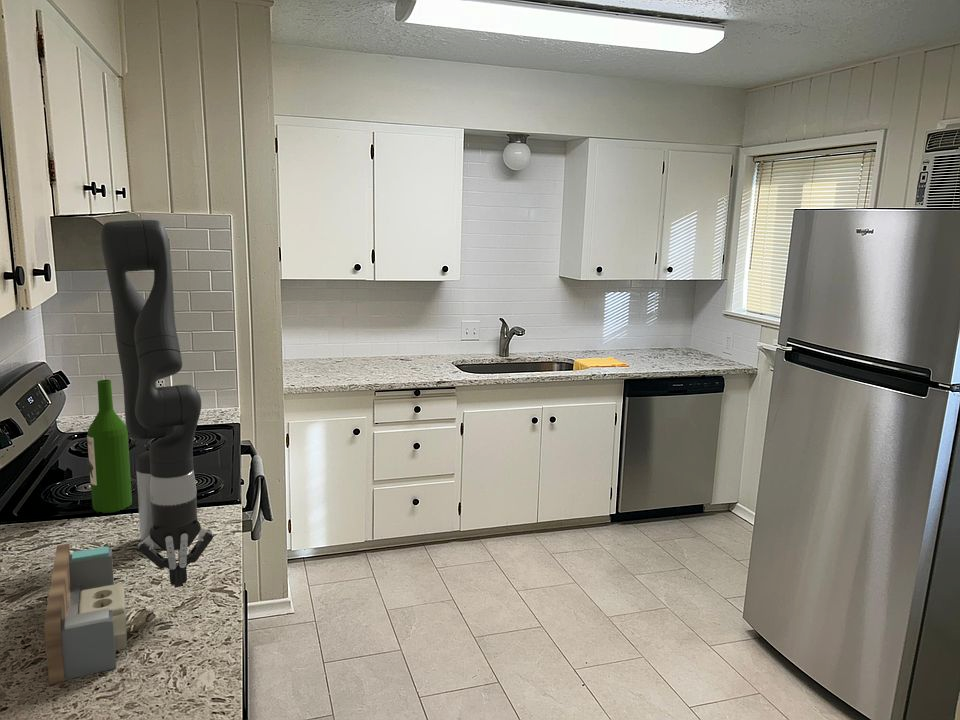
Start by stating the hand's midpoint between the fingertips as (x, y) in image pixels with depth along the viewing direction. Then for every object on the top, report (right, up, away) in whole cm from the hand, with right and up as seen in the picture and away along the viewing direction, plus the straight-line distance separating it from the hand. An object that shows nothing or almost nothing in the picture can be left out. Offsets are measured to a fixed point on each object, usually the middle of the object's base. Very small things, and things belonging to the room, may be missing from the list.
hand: (178, 585), depth 129 cm
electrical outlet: (-11, -6, -6) cm, 14 cm away
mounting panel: (-16, -6, -8) cm, 19 cm away
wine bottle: (-38, +4, +50) cm, 63 cm away
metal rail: (-15, -6, -7) cm, 18 cm away
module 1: (-18, -4, +5) cm, 19 cm away
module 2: (-6, -7, -17) cm, 20 cm away
